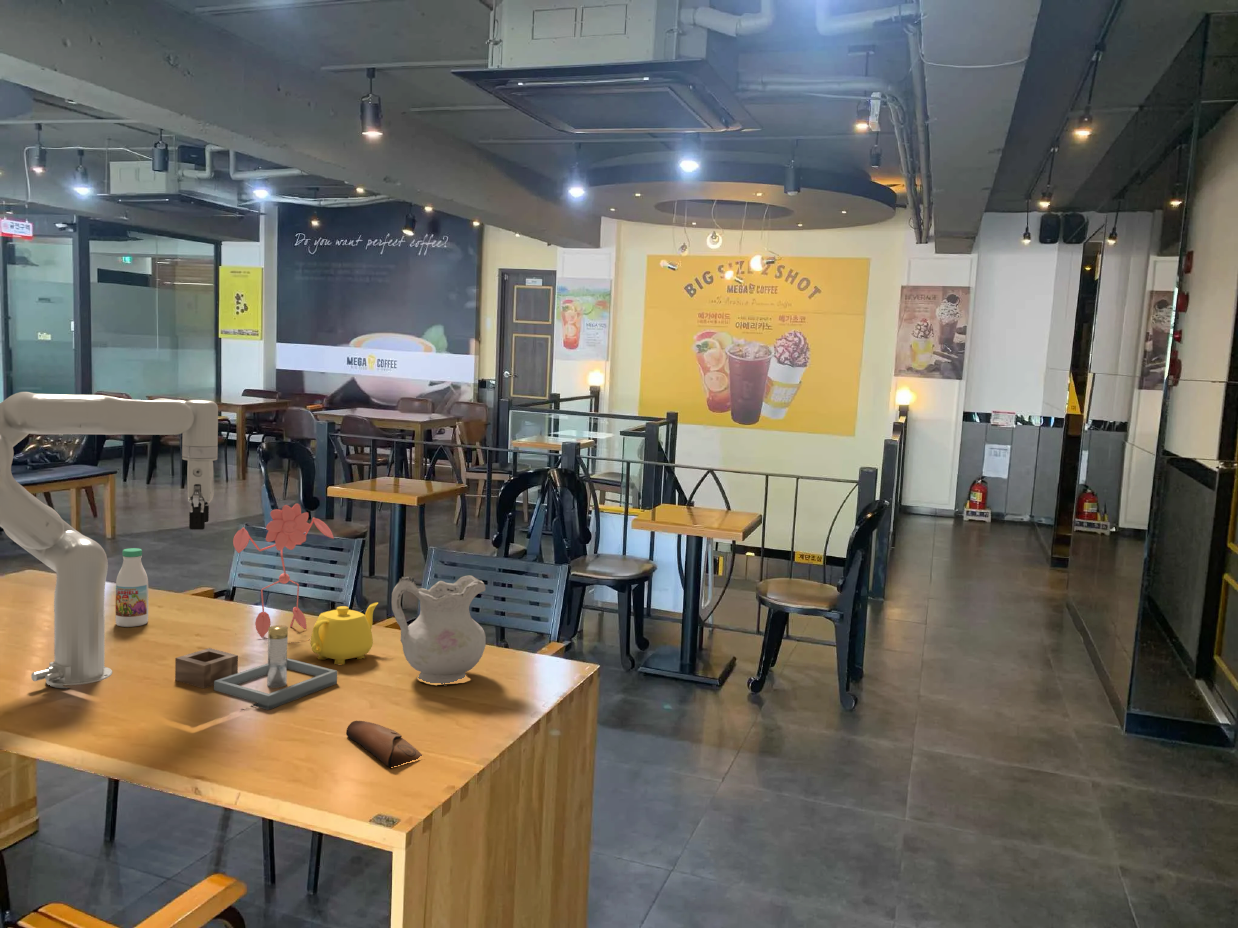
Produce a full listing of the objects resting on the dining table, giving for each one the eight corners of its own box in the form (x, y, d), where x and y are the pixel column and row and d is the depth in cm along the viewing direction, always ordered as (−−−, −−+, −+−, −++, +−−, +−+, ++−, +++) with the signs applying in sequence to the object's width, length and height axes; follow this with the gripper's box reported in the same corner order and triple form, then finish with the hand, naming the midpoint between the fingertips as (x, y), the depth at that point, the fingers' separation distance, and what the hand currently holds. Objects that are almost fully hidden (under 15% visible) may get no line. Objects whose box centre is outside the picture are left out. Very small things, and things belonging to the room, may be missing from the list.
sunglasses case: (429, 758, 176) (414, 732, 173) (399, 785, 172) (383, 759, 169) (384, 727, 189) (369, 703, 186) (356, 751, 186) (340, 727, 183)
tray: (268, 709, 195) (268, 695, 195) (213, 694, 202) (214, 680, 202) (336, 683, 213) (337, 670, 213) (284, 669, 220) (285, 657, 219)
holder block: (203, 692, 203) (204, 665, 202) (175, 684, 206) (175, 657, 206) (237, 681, 211) (237, 655, 210) (209, 673, 215) (209, 647, 214)
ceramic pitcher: (406, 702, 207) (414, 594, 203) (377, 669, 223) (383, 568, 219) (495, 689, 219) (504, 586, 215) (461, 658, 235) (469, 562, 231)
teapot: (294, 659, 228) (295, 608, 227) (358, 642, 244) (360, 594, 243) (331, 672, 220) (333, 619, 219) (395, 653, 237) (397, 604, 236)
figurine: (224, 636, 242) (228, 502, 238) (317, 621, 261) (322, 497, 257) (250, 652, 232) (255, 513, 228) (345, 635, 250) (351, 506, 246)
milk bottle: (118, 619, 252) (119, 546, 250) (150, 619, 254) (151, 546, 252) (112, 627, 244) (112, 552, 242) (145, 627, 247) (145, 552, 245)
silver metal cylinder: (276, 689, 205) (277, 631, 203) (263, 685, 206) (264, 628, 205) (290, 684, 208) (291, 627, 207) (277, 680, 210) (278, 624, 209)
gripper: (214, 457, 212) (213, 532, 214) (220, 449, 228) (219, 519, 230) (177, 456, 210) (177, 532, 211) (186, 449, 226) (185, 519, 228)
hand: (199, 525), depth 221 cm, fingers open, 9 cm apart
